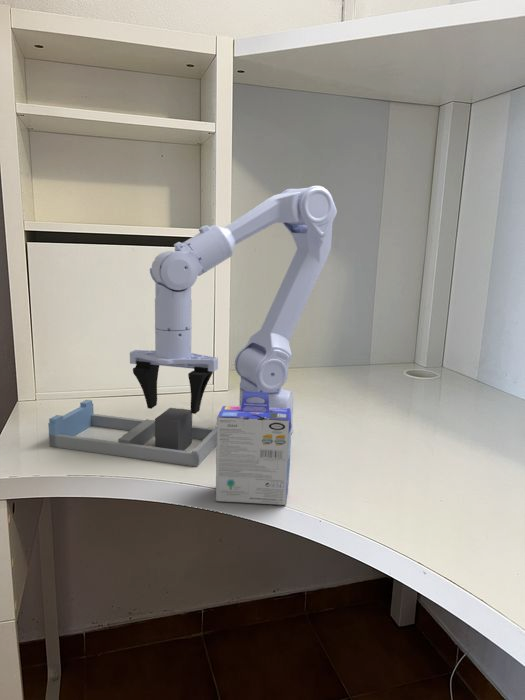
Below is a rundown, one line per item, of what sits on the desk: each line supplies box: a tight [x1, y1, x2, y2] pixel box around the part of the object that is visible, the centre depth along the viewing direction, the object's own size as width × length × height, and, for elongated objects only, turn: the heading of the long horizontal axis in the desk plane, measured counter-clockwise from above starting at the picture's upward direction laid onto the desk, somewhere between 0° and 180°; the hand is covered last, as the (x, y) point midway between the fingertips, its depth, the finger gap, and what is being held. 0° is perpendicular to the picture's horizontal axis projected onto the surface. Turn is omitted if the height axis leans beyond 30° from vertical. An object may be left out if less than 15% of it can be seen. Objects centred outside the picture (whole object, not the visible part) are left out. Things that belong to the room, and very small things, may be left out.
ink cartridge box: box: [215, 391, 292, 506], centre depth 75 cm, size 10×6×14 cm, turn 86°
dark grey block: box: [154, 407, 193, 451], centre depth 91 cm, size 4×6×6 cm, turn 165°
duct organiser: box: [48, 399, 217, 468], centre depth 93 cm, size 26×12×5 cm, turn 75°
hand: (173, 409), depth 90 cm, fingers open, 7 cm apart
